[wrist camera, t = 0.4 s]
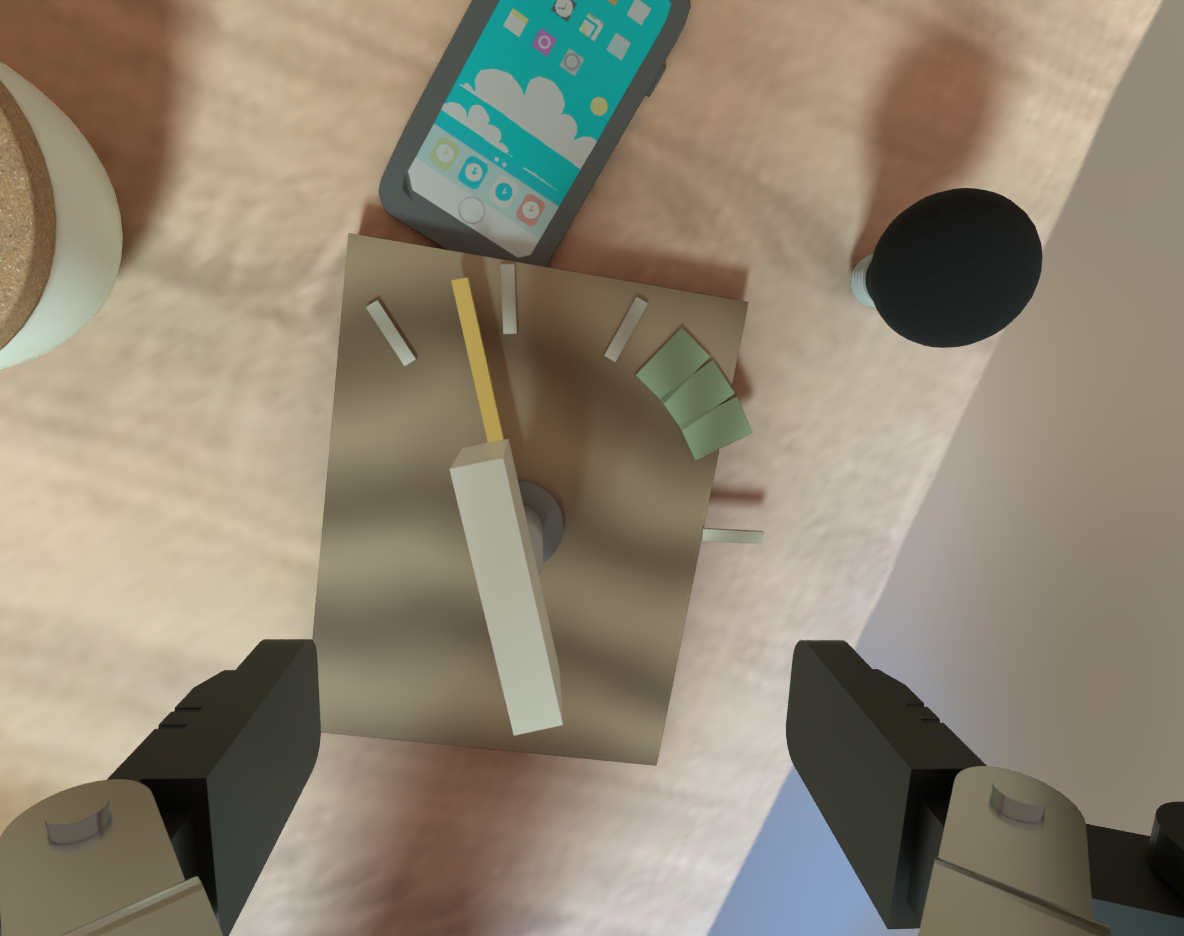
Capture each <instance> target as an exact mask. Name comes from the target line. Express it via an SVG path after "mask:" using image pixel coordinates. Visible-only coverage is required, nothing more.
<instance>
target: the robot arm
mask: <svg viewBox="0 0 1184 936" xmlns="http://www.w3.org/2000/svg"><path fill="white" fill-rule="evenodd" d="M320 737H321V720H320V700H319V680H318V660H317V650H316V646H315V643H314V641H313V640H311V639H264V640H262V641H261V642H260V643H259V644H258V645H257V646H256V647H255V648H254V649H253V651H252V652H251V653H250V654H249V655H248V656H247V657H246V659H245V660H244V661H243V662H242V663H241V664H240V665H239V667H238V668H237V669H236V670H224V671H222V672H220V673H219V674H217V675H215V676H213V677H212V678H210V679H208V680H206V681H205V682H203V683H201V684H199V685H198V686H196V687H194V688H193V689H192V690H191V691H190V692H189V693H188V695H187V696H186V697H185V698H184V699H183V700H182V701H181V702H180V703H179V704H178V705H177V706H176V707H175V711H174V712H170V714H169V715H168V716H167V717H166V718H165V719H164V720H163V721H162V722H161V723H160V724H159V728H158V729H154V730H153V731H152V733H151V734H150V735H149V736H148V737H147V738H146V739H145V740H144V741H143V742H142V743H141V744H140V745H139V746H138V747H137V748H136V749H135V750H134V752H133V753H132V754H131V755H130V756H129V757H128V758H127V759H126V760H125V761H124V762H123V763H122V764H121V765H120V766H119V767H118V768H117V769H116V771H115V772H114V773H113V774H112V775H111V776H110V777H109V778H108V779H107V780H102V781H96V782H91V783H86V784H83V785H79V786H76V787H72V788H70V789H67V790H64V791H61V792H59V793H57V794H54V795H52V796H50V797H48V798H46V799H44V800H42V801H40V802H39V803H37V804H35V805H33V806H32V807H30V808H29V809H27V810H26V811H24V812H23V813H22V814H20V815H19V816H18V817H17V818H15V819H14V820H13V821H12V822H11V823H10V824H9V825H8V826H7V827H6V829H5V830H4V831H3V833H2V834H1V836H0V936H229V934H230V932H231V930H232V928H233V926H234V924H235V922H236V920H237V918H238V917H239V915H240V913H241V911H242V909H243V907H244V905H245V903H246V901H247V899H248V897H249V895H250V893H251V891H252V889H253V887H254V885H255V883H256V881H257V879H258V877H259V875H260V873H261V871H262V869H263V867H264V865H265V863H266V861H267V859H268V857H269V855H270V853H271V852H272V850H273V848H274V846H275V844H276V842H277V840H278V838H279V836H280V834H281V832H282V830H283V828H284V826H285V824H286V822H287V820H288V818H289V816H290V814H291V812H292V810H293V808H294V806H295V804H296V802H297V800H298V798H299V796H300V794H301V792H302V790H303V788H304V786H305V785H306V783H307V781H308V779H309V777H310V775H311V773H312V771H313V768H314V766H315V763H316V760H317V756H318V751H319V746H320ZM786 738H787V745H788V750H789V754H790V757H791V760H792V762H793V764H794V766H795V768H796V770H797V771H798V773H799V775H800V777H801V778H802V780H803V782H804V784H805V785H806V787H807V789H808V791H809V792H810V794H811V796H812V797H813V799H814V801H815V803H816V805H817V806H818V808H819V810H820V812H821V813H822V815H823V817H824V819H825V820H826V822H827V824H828V826H829V827H830V829H831V831H832V833H833V834H834V836H835V838H836V840H837V841H838V843H839V845H840V847H841V848H842V850H843V852H844V854H845V855H846V857H847V859H848V861H849V862H850V864H851V866H852V868H853V869H854V871H855V873H856V875H857V876H858V878H859V880H860V882H861V883H862V885H863V887H864V888H865V890H866V892H867V894H868V896H869V897H870V899H871V901H872V903H873V904H874V906H875V908H876V909H877V911H878V913H879V915H880V916H881V918H882V920H883V922H884V923H885V925H886V927H887V929H913V928H920V930H919V935H918V936H1184V802H1171V803H1166V804H1163V805H1161V806H1160V807H1159V808H1158V809H1157V811H1156V815H1155V820H1154V824H1153V828H1152V833H1151V836H1146V835H1141V834H1136V833H1130V832H1125V831H1120V830H1115V829H1110V828H1104V827H1099V826H1094V825H1090V824H1086V823H1085V819H1084V817H1083V815H1082V813H1081V812H1080V810H1079V809H1078V808H1077V807H1076V805H1075V804H1074V803H1073V802H1071V801H1070V800H1069V799H1068V798H1067V797H1066V796H1064V795H1063V794H1062V793H1061V792H1059V791H1057V790H1056V789H1054V788H1053V787H1051V786H1049V785H1047V784H1046V783H1044V782H1042V781H1040V780H1038V779H1035V778H1033V777H1031V776H1028V775H1025V774H1022V773H1020V772H1016V771H1012V770H1009V769H1004V768H999V767H991V766H986V765H985V764H984V763H983V762H982V761H981V760H980V759H979V758H978V757H977V756H976V755H975V754H974V753H973V752H972V751H971V750H970V749H969V748H968V747H967V746H966V745H965V744H964V743H963V742H962V741H961V740H960V739H959V738H958V737H957V736H956V735H955V734H954V733H953V732H952V731H951V730H950V729H949V728H948V727H947V726H946V725H945V724H944V723H940V720H939V718H938V717H937V716H936V715H935V714H934V713H933V712H932V711H931V710H930V709H929V708H928V707H924V703H923V702H922V701H921V700H920V699H919V698H918V697H917V696H916V695H915V694H914V693H913V692H912V691H911V690H910V689H909V688H908V687H907V686H906V685H905V684H903V683H901V682H899V681H898V680H896V679H894V678H892V677H890V676H889V675H887V674H885V673H883V672H882V671H880V670H878V669H872V668H871V667H870V666H869V665H868V664H867V663H866V662H865V661H864V660H863V659H862V658H861V657H860V656H859V655H858V654H857V653H856V652H855V650H854V649H853V648H852V647H851V646H850V645H849V644H848V643H847V642H845V641H843V640H801V641H799V642H798V643H797V644H796V646H795V649H794V653H793V661H792V671H791V681H790V691H789V700H788V710H787V720H786Z"/></svg>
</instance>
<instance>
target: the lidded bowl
mask: <svg viewBox="0 0 1184 936" xmlns="http://www.w3.org/2000/svg"><path fill="white" fill-rule="evenodd" d="M122 242H123V233H122V223H121V214H120V210H119V206H118V202H117V198H116V194H115V191H114V189H113V186H112V184H111V182H110V179H109V177H108V175H107V172H106V170H105V168H104V167H103V165H102V163H101V162H100V160H99V158H98V157H97V155H96V153H95V152H94V150H93V148H92V147H91V145H90V144H89V143H88V141H87V140H86V138H85V137H84V136H83V135H82V133H81V132H80V131H79V130H78V128H77V127H76V126H75V125H74V123H73V122H72V121H71V119H70V118H69V117H67V116H66V115H65V114H64V113H63V112H62V111H61V110H60V109H59V108H58V107H57V106H56V105H55V104H54V103H53V102H52V101H51V100H50V99H49V98H48V97H46V96H45V95H44V94H43V93H42V92H41V91H40V90H39V89H38V88H36V87H35V86H34V85H33V84H31V83H30V82H29V81H27V80H26V79H25V78H23V77H22V76H20V75H19V74H18V73H16V72H15V71H14V70H12V69H11V68H10V67H8V66H7V65H5V64H4V63H2V62H1V61H0V370H1V369H4V368H7V367H11V366H14V365H18V364H21V363H24V362H27V361H29V360H31V359H34V358H36V357H38V356H40V355H43V354H45V353H47V352H49V351H51V350H53V349H55V348H57V347H59V346H61V345H62V344H63V343H65V342H66V341H68V340H69V339H70V338H72V337H73V336H74V335H76V334H77V333H78V332H79V331H81V330H82V329H83V328H84V327H85V326H86V325H87V324H88V323H89V322H90V321H91V320H92V319H93V317H94V316H95V315H96V314H97V313H98V312H99V311H100V309H101V308H102V306H103V305H104V303H105V301H106V300H107V298H108V297H109V295H110V293H111V290H112V288H113V286H114V283H115V281H116V278H117V275H118V271H119V266H120V262H121V258H122Z"/></svg>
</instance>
